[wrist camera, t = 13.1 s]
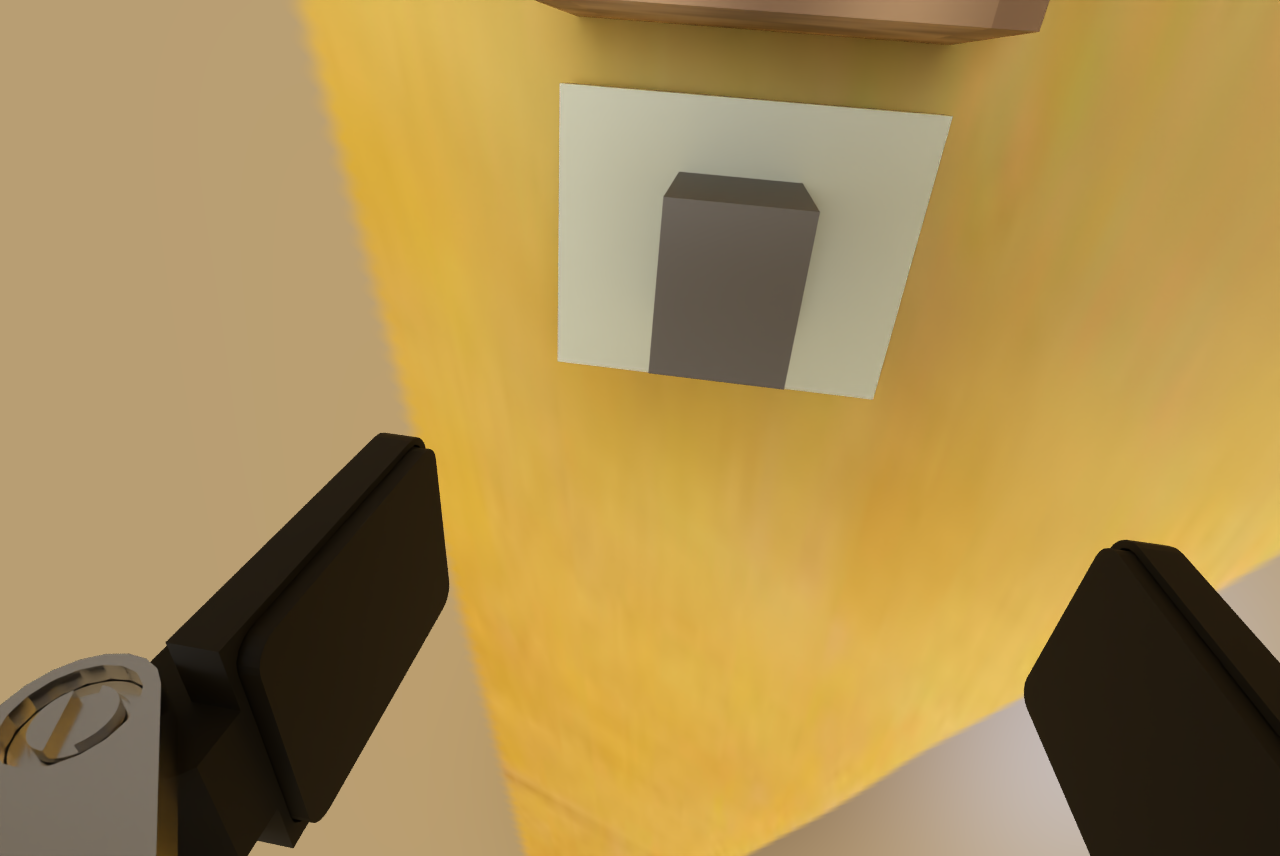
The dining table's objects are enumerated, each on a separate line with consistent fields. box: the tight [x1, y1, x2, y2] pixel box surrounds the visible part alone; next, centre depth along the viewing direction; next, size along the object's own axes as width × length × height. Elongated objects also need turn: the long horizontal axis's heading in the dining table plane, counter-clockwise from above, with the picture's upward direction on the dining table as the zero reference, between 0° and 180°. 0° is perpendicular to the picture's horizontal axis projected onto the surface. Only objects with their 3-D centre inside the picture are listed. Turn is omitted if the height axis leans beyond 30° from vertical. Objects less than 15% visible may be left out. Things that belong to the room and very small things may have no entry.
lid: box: [558, 83, 953, 400], centre depth 25 cm, size 14×11×8 cm
